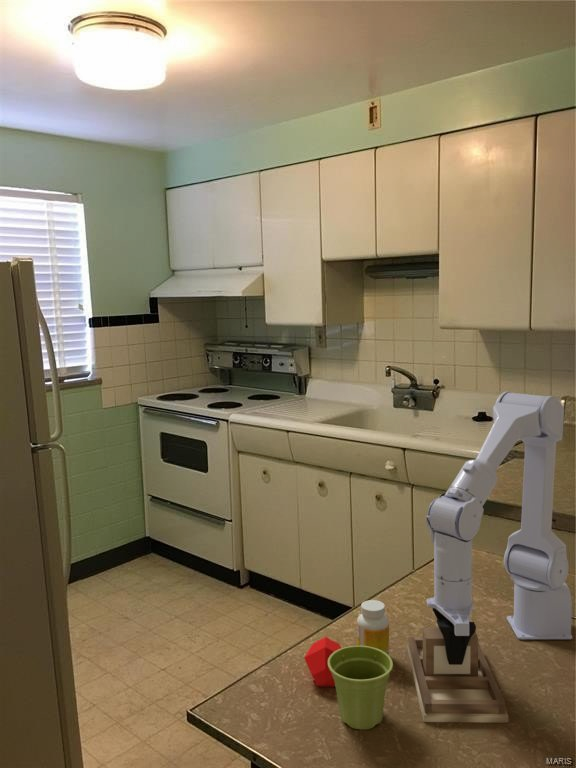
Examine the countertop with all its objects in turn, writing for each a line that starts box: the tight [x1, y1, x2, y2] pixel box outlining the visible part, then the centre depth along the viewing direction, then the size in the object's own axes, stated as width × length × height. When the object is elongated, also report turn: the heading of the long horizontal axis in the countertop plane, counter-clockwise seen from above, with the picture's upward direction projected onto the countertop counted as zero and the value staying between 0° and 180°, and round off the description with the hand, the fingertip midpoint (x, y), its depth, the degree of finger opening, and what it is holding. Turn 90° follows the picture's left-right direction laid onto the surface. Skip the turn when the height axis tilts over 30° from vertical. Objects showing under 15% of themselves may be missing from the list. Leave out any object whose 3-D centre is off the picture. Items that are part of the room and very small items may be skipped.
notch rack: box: [406, 636, 509, 724], centre depth 105 cm, size 12×20×2 cm, turn 177°
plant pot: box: [328, 645, 394, 730], centre depth 96 cm, size 9×9×9 cm
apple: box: [303, 636, 342, 688], centre depth 107 cm, size 7×7×8 cm
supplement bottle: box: [356, 599, 390, 656], centre depth 112 cm, size 5×5×10 cm
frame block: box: [422, 626, 479, 677], centre depth 104 cm, size 8×4×7 cm, turn 87°
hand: (452, 656), depth 104 cm, fingers closed on frame block, 3 cm apart
